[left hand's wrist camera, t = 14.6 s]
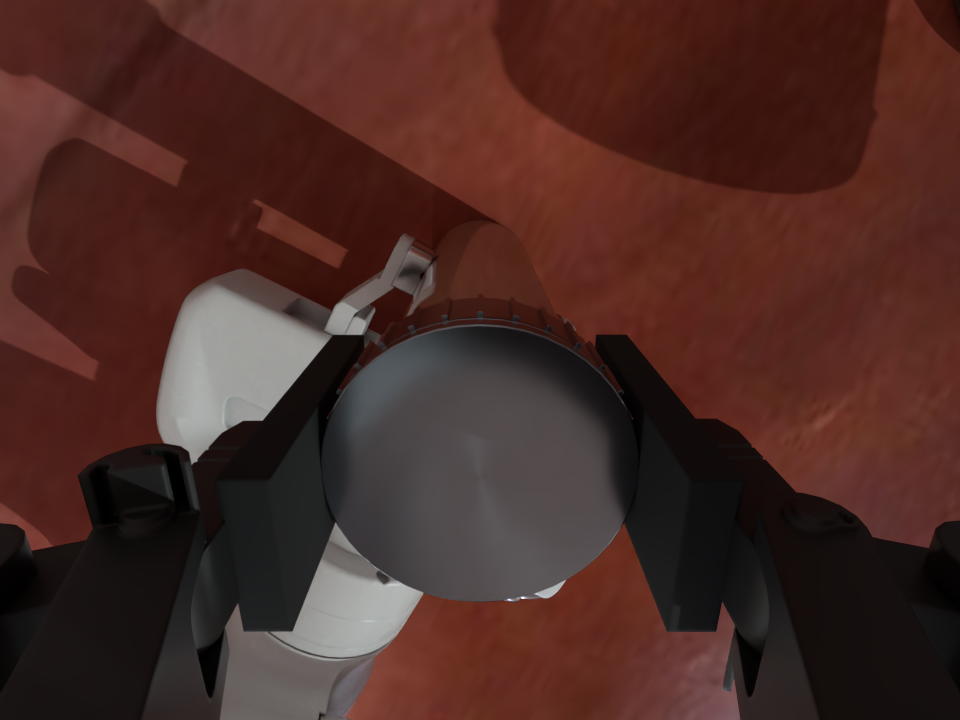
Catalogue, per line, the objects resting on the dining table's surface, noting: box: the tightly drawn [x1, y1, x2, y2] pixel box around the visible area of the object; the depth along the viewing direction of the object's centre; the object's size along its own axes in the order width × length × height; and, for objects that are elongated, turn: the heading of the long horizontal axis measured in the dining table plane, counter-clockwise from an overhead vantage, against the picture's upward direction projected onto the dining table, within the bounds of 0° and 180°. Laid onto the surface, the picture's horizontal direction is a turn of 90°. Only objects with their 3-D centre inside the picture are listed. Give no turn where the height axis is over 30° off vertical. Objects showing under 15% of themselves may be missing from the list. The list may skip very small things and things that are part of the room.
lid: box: [320, 294, 640, 602], centre depth 11 cm, size 6×6×2 cm
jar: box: [402, 220, 558, 319], centre depth 19 cm, size 5×5×19 cm
